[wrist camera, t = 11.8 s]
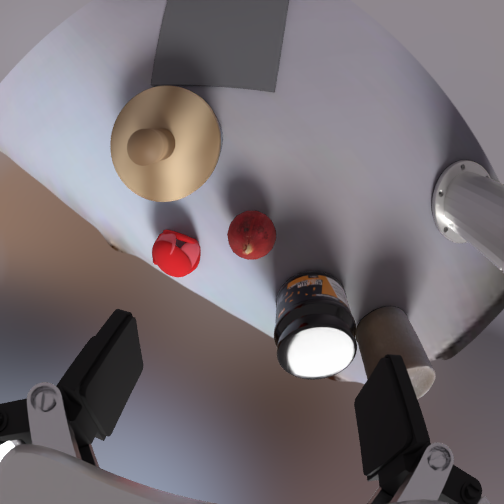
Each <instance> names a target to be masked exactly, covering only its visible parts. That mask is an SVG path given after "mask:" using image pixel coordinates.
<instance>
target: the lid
mask: <svg viewBox="0 0 504 504" xmlns="http://www.w3.org/2000/svg"><path fill="white" fill-rule="evenodd" d="M220 150H221V132H220V127H219V123H218V120H217V118H216V116H215V114H214V112H213V110H212V109H211V107H210V106H209V105H208V104H207V103H206V102H205V101H204V99H202V98H201V97H200V96H198V95H197V94H195V93H193V92H192V91H189V90H187V89H184V88H181V87H176V86H157V87H153V88H150V89H147V90H145V91H143V92H141V93H139V94H138V95H136V96H135V97H133V98H132V99H131V100H130V101H129V102H128V103H127V104H126V105H125V106H124V108H123V109H122V110H121V112H120V113H119V115H118V117H117V119H116V121H115V124H114V127H113V130H112V135H111V157H112V161H113V164H114V167H115V170H116V172H117V174H118V176H119V177H120V179H121V180H122V182H123V183H124V184H125V185H126V186H127V187H128V188H129V189H130V190H131V191H132V192H134V193H135V194H137V195H139V196H141V197H143V198H145V199H148V200H151V201H156V202H170V201H175V200H179V199H181V198H184V197H186V196H188V195H190V194H191V193H193V192H194V191H196V190H197V189H198V188H200V187H201V186H202V185H203V184H204V183H205V182H206V181H207V179H208V178H209V177H210V176H211V174H212V172H213V171H214V169H215V167H216V164H217V162H218V159H219V155H220Z"/></svg>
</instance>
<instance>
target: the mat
mask: <svg viewBox="0 0 504 504" xmlns="http://www.w3.org/2000/svg"><path fill="white" fill-rule="evenodd" d="M288 3H289V0H168V1H167V5H166V9H165V13H164V17H163V21H162V26H161V30H160V35H159V40H158V45H157V50H156V56H155V62H154V68H153V74H152V81H151V85H197V86H218V87H232V88H243V89H252V90H260V91H268V92H275V88H276V81H277V75H278V68H279V62H280V55H281V49H282V42H283V36H284V29H285V23H286V16H287V10H288Z"/></svg>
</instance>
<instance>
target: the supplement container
mask: <svg viewBox="0 0 504 504" xmlns="http://www.w3.org/2000/svg"><path fill="white" fill-rule="evenodd" d="M355 334H356V324H355V320H354V318H353V316H352V314H351V311H350V308H349V304H348V301H347V297H346V293H345V290H344V288H343V286H342V285H341V283H340V282H339V281H338V280H337V279H336V278H334V277H333V276H331V275H329V274H327V273H324V272H319V271H308V272H303V273H300V274H297V275H295V276H293V277H292V278H290V279H289V280H288V281H286V282H285V283H284V285H283V286H282V287H281V289H280V291H279V293H278V295H277V299H276V325H275V329H274V340H275V344H276V346H277V358H278V362H279V363H280V365H281V367H282V368H283V369H284V370H285V371H286V372H288V373H290V374H291V375H293V376H295V377H299V378H303V379H322V378H327V377H330V376H333V375H335V374H337V373H339V372H341V371H342V370H344V369H345V368H346V367H347V366H348V365H349V364H350V363H351V362H352V360H353V359H354V357H355V355H356V351H357V344H356V339H355Z"/></svg>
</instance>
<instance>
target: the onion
mask: <svg viewBox="0 0 504 504" xmlns="http://www.w3.org/2000/svg"><path fill="white" fill-rule="evenodd" d="M227 235H228V241H229V245H230V247H231V249H232V251H233V252H234V253H235V254H237V255H238V256H239V257H242V258H245V259H258V258H261V257H263V256H265V255H266V254H267V253H268V252H269V251H271V250H272V248H273V245H274V243H275V240H276V230H275V228H274V225H273V223H272V221H271V220H270V219H269V218H268V217H267V216H266V215H265V214H263V213H261V212H259V211H245V212H243V213H241V214H239V215H237V216H236V217H235V218H234V220H233V221H232V222H231V224H230V226H229V230H228V234H227Z"/></svg>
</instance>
